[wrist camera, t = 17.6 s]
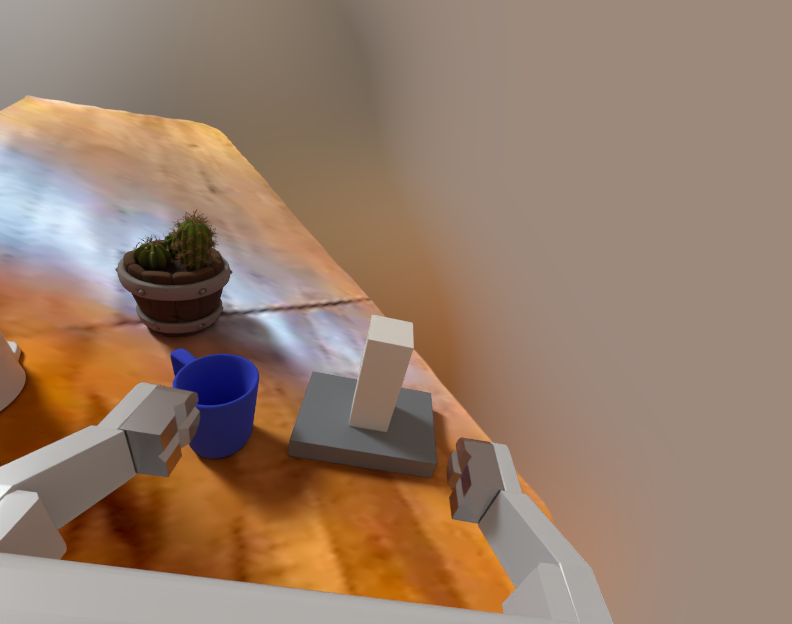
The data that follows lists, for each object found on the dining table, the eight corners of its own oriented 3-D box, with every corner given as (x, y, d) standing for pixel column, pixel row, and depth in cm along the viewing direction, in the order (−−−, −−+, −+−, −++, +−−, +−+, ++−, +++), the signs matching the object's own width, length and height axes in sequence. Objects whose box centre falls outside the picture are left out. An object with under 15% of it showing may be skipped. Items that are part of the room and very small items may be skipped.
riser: (288, 455, 42) (289, 439, 40) (310, 386, 52) (312, 371, 51) (430, 478, 44) (437, 464, 42) (425, 406, 54) (430, 393, 52)
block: (348, 425, 44) (368, 339, 37) (353, 397, 48) (372, 314, 41) (386, 432, 44) (413, 348, 37) (388, 403, 49) (412, 322, 42)
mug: (212, 386, 48) (208, 329, 43) (271, 436, 44) (275, 378, 39) (148, 421, 42) (134, 358, 37) (210, 483, 37) (204, 421, 32)
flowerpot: (102, 328, 53) (67, 197, 42) (180, 288, 66) (167, 180, 55) (187, 359, 51) (172, 232, 41) (249, 311, 64) (249, 206, 54)
